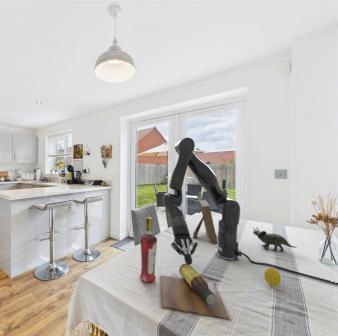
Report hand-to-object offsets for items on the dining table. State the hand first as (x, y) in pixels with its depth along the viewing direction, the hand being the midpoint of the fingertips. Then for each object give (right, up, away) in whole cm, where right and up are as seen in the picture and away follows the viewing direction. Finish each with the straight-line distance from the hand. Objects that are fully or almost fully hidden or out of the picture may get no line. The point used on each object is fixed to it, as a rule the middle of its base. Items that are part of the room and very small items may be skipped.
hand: (189, 264), depth 86 cm
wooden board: (-3, -8, -8) cm, 12 cm away
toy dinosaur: (+66, -9, +36) cm, 76 cm away
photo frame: (+31, -7, +55) cm, 63 cm away
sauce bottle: (-1, -4, +4) cm, 6 cm away
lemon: (+35, -9, -2) cm, 36 cm away
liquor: (-18, -8, +1) cm, 20 cm away
